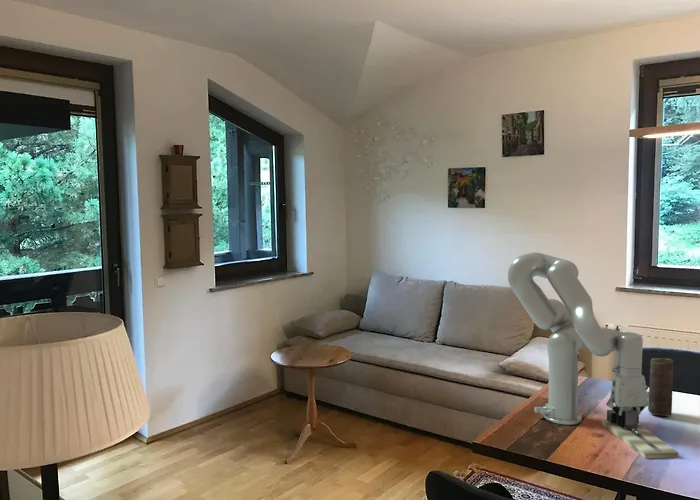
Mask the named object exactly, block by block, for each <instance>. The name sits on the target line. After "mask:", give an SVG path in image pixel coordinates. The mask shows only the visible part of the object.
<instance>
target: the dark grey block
mask: <svg viewBox="0 0 700 500" xmlns="http://www.w3.org/2000/svg"><path fill="white" fill-rule="evenodd" d="M622 415H623V416H624V427H622V428H623V429H625V430H632V431H633V432H634V433H636V434H637V435H640V432H638V431H637V422H638V411H636V410H635V409H633V408H632V407H624V409H623V413H622Z"/></svg>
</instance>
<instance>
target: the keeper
mask: <svg viewBox="0 0 700 500" xmlns="http://www.w3.org/2000/svg"><path fill="white" fill-rule="evenodd" d="M614 406H616V404H615V403H614ZM606 419H607V421H609V422H610V423H616V412H615V411H614V410H613V409H606Z"/></svg>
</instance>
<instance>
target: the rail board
mask: <svg viewBox="0 0 700 500" xmlns="http://www.w3.org/2000/svg"><path fill="white" fill-rule="evenodd" d="M601 425H603V427H605V428H606V429H608V430H609V431H610V432H611V433H613V435H615V436H616V437H618V438H619V439H620V440H621V441H622V442H624V443H625V444H626V445H628V446H629V447H630V448H631V449H632V450H634V451H635V452H636V453H638V454H639V456H641V457H643V458H644V459H660V458H661V459H662V458H664V459H665V458H666V459H667V458H678V457H679V452H678V451H677V450H676V449H674V448H673V447H671V446H670V445H668V444H667V443H666V442H665V441H663V440H662V439H660V438H659V437H657V436H656V435H654V434H653V433H652V432H650V431H648V430H647V429H646V428H645V427H643V426H642V425H640V424H639V423H638V427H637V431H638V432H640V435H637V434H636V433H634V432H633V431H632V430H625V429H623V428H622V427H620V426H619V425H618V424H617V423H610V422H609V421H607V418H606V419H601Z"/></svg>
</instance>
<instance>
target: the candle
mask: <svg viewBox="0 0 700 500" xmlns="http://www.w3.org/2000/svg"><path fill="white" fill-rule="evenodd" d="M650 359H651V360H650V361H649V363H650V364H649V365H650V366H649V367H650V368H649V384H648V386H649V387H648V399H647V400H648V402H649V405H648V406H647V411H648V412H649V413H650V414H651V415H656V416H662V417H663V416H665V417H667V416H672V412H673V409H672V408H673V385H674V383H673V382H674V380H673V379H674V359H672V358H665V357H660V358H657V357H654V358H653V357H652V358H650Z"/></svg>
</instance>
